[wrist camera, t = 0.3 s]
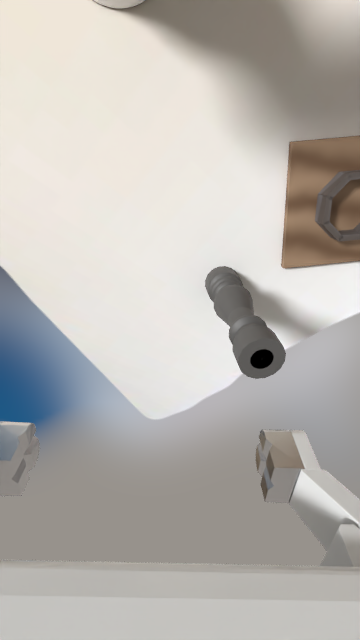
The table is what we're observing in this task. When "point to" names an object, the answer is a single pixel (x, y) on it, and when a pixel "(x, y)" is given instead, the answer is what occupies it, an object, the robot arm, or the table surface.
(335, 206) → the candle dish
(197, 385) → the table surface
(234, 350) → the candle holder
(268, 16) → the table surface
